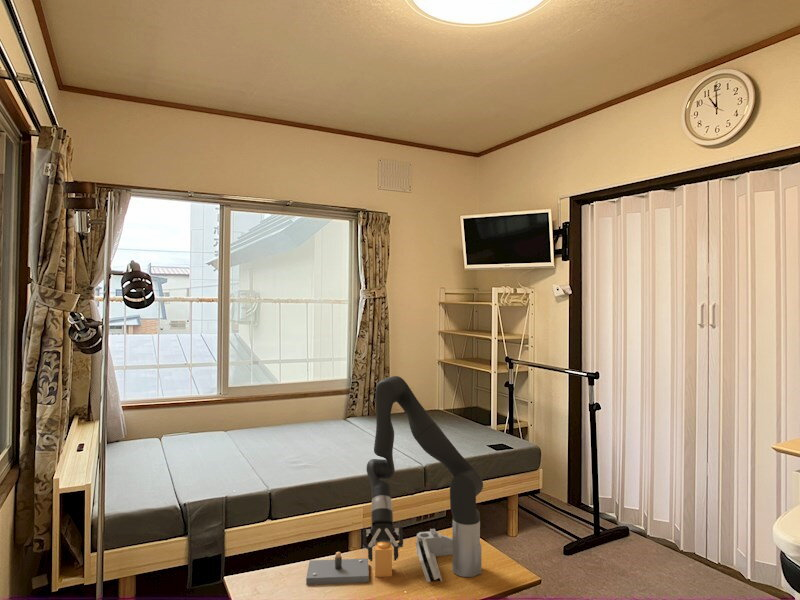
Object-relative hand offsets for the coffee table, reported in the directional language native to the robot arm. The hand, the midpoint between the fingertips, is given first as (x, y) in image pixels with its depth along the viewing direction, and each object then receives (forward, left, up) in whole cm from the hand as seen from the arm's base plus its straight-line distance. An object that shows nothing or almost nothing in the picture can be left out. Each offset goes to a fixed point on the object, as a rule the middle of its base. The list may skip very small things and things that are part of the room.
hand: (383, 560), depth 177 cm
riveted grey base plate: (+15, -1, -5) cm, 16 cm away
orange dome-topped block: (0, -1, -5) cm, 5 cm away
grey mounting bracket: (-22, -15, -5) cm, 27 cm away
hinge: (-15, -2, -5) cm, 16 cm away
